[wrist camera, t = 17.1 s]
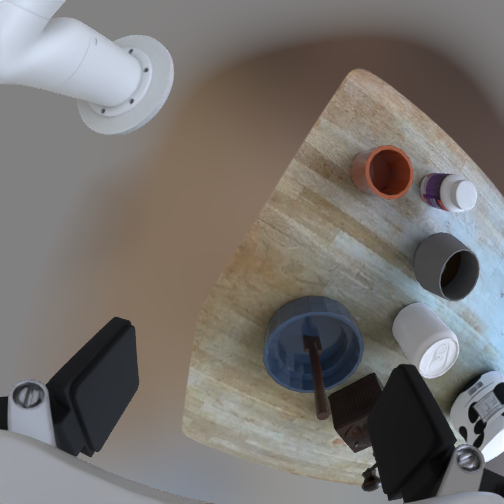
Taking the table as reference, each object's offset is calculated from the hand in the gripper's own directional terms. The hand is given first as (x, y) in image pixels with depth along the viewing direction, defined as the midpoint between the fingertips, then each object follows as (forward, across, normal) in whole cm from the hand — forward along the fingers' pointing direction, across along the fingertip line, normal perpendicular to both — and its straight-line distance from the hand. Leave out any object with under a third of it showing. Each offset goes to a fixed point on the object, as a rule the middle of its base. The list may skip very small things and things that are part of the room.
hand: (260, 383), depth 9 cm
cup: (+34, -26, +1) cm, 43 cm away
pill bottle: (+34, -24, -10) cm, 43 cm away
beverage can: (+34, -27, +13) cm, 45 cm away
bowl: (+34, -9, +18) cm, 40 cm away
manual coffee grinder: (+34, -25, +33) cm, 54 cm away
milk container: (+34, -57, +31) cm, 73 cm away
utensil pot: (+34, -13, -10) cm, 38 cm away
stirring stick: (+34, -9, +18) cm, 39 cm away
